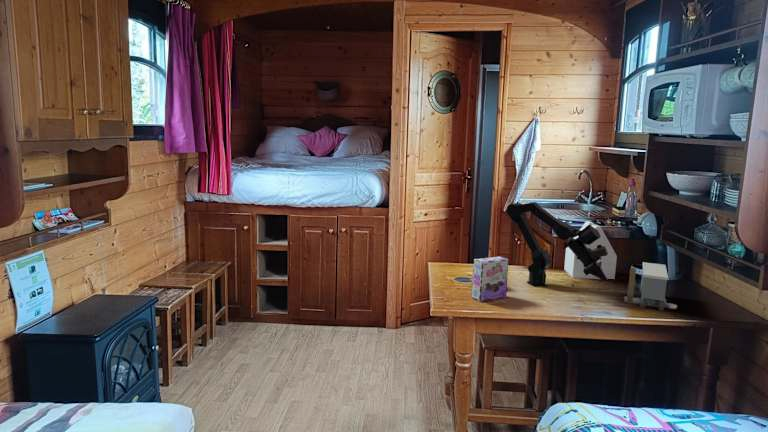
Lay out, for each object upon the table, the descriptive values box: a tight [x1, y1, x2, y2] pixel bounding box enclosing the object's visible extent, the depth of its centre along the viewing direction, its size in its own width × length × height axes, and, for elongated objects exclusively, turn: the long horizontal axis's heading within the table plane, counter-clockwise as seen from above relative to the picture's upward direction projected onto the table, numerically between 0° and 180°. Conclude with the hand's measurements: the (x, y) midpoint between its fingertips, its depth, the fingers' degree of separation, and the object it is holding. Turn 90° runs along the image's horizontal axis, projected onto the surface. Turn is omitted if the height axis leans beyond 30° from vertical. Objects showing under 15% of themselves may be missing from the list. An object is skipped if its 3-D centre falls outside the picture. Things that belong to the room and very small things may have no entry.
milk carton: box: [563, 220, 618, 280], centre depth 251 cm, size 19×15×25 cm
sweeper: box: [623, 266, 667, 309], centre depth 211 cm, size 15×6×14 cm, turn 65°
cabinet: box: [639, 261, 669, 312], centre depth 213 cm, size 9×23×14 cm, turn 154°
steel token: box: [666, 302, 678, 310], centre depth 208 cm, size 4×4×1 cm
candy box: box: [470, 256, 510, 302], centre depth 212 cm, size 14×6×16 cm, turn 117°
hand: (606, 280), depth 217 cm, fingers closed
